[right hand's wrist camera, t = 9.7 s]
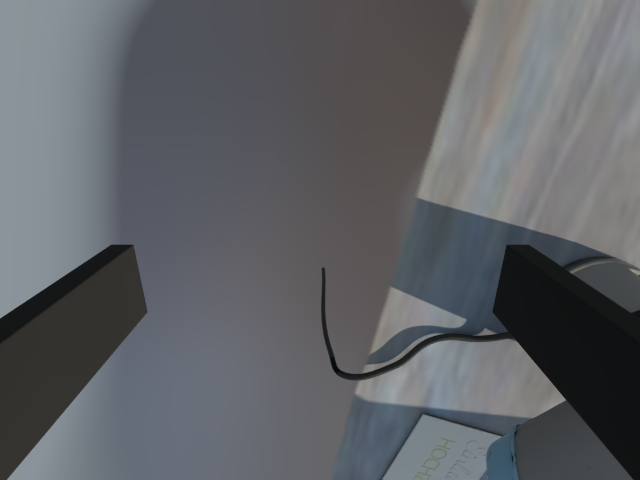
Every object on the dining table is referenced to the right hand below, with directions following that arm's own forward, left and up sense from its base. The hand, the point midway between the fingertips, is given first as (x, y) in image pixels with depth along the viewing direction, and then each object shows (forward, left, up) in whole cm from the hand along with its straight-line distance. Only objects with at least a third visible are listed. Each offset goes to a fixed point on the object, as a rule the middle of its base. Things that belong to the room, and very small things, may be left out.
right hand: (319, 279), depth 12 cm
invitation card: (+4, -53, -28) cm, 60 cm away
